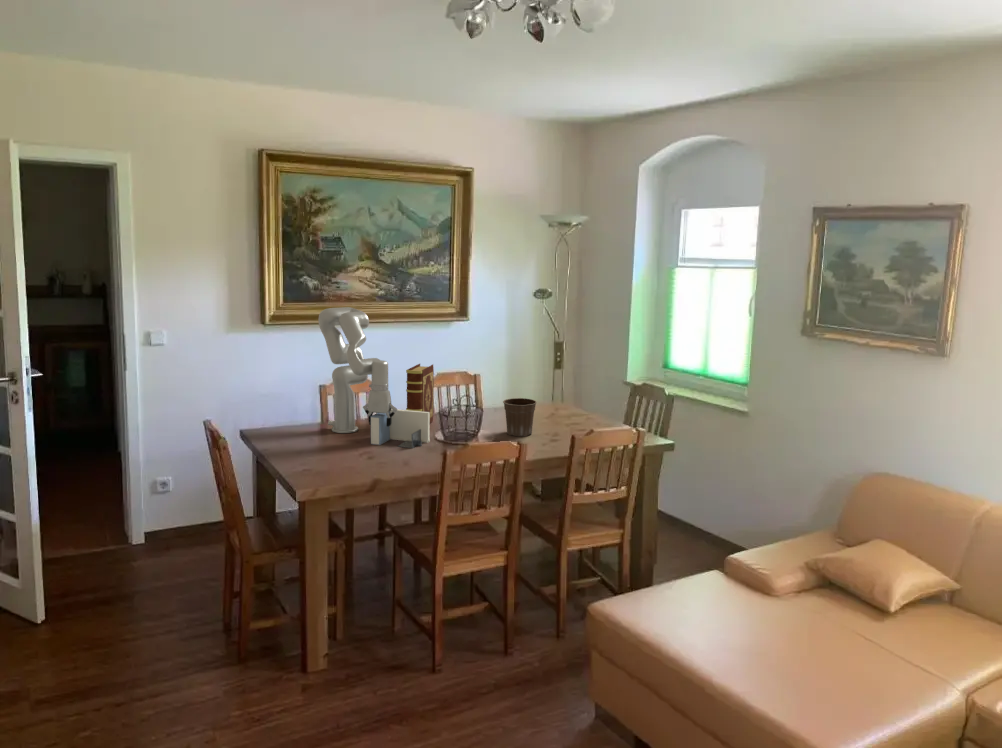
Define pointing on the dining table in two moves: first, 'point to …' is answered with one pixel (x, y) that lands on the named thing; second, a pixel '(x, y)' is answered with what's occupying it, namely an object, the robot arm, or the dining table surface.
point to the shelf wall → (410, 425)
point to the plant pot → (519, 416)
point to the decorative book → (420, 389)
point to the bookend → (413, 440)
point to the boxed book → (379, 429)
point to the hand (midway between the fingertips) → (380, 424)
